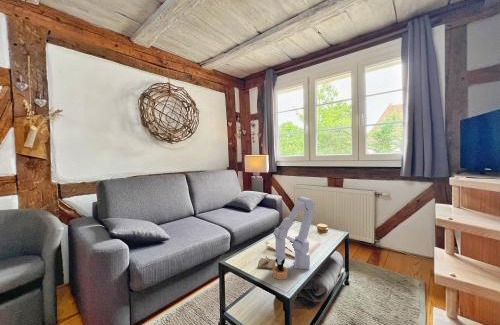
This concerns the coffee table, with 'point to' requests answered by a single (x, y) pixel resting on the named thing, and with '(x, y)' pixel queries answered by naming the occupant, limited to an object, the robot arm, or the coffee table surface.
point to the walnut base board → (267, 266)
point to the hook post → (267, 259)
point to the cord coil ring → (279, 273)
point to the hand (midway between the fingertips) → (280, 269)
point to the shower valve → (290, 239)
